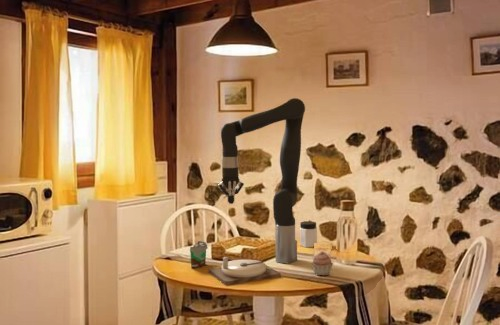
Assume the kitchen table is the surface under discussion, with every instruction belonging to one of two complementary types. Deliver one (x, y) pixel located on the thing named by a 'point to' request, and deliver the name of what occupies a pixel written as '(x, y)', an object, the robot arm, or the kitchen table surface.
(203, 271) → the kitchen table surface
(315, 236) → the jar
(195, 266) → the food container
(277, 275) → the board
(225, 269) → the dial
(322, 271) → the cupcake
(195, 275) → the kitchen table surface
